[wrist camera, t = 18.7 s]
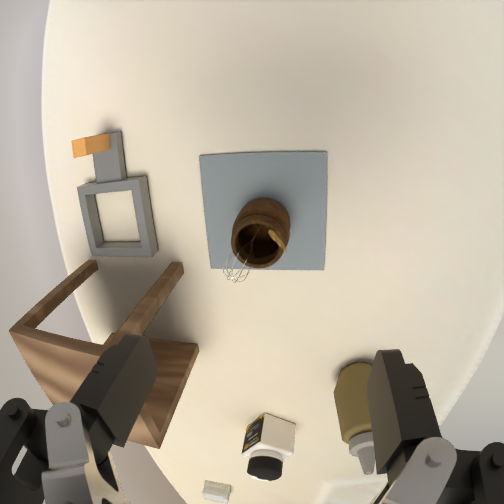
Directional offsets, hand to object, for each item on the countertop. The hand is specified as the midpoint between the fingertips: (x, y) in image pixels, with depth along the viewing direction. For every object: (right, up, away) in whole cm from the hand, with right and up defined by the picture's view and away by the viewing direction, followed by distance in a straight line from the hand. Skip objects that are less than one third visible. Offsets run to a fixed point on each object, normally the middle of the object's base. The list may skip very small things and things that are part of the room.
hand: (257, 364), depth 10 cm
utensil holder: (+1, +7, +25) cm, 26 cm away
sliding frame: (-18, +11, +26) cm, 34 cm away
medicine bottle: (+4, -30, +42) cm, 52 cm away
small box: (-11, -69, +62) cm, 93 cm away
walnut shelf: (-17, -5, +34) cm, 38 cm away
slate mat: (+1, +8, +25) cm, 26 cm away
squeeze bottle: (+17, -16, +34) cm, 41 cm away
